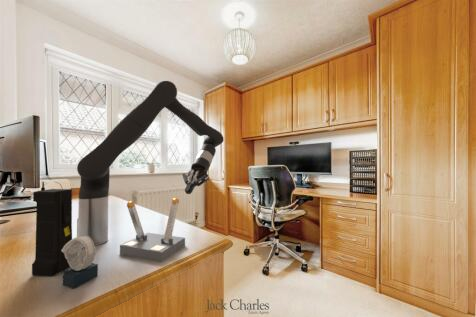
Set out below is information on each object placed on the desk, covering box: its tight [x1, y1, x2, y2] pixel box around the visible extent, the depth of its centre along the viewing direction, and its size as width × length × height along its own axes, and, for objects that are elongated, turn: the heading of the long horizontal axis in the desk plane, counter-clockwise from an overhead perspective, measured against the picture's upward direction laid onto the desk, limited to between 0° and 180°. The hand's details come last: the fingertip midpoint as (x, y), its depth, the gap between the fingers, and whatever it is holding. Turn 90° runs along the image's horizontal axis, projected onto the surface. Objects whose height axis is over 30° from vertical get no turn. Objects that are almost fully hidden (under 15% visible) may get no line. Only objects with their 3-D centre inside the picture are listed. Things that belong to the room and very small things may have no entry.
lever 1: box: [126, 200, 145, 239], centre depth 66 cm, size 2×2×14 cm
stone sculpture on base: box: [62, 236, 99, 289], centre depth 49 cm, size 6×8×11 cm
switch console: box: [119, 232, 186, 263], centre depth 66 cm, size 17×12×4 cm
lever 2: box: [163, 197, 180, 242], centre depth 67 cm, size 2×2×14 cm
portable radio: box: [31, 181, 73, 278], centre depth 54 cm, size 8×6×25 cm
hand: (187, 192), depth 77 cm, fingers closed
